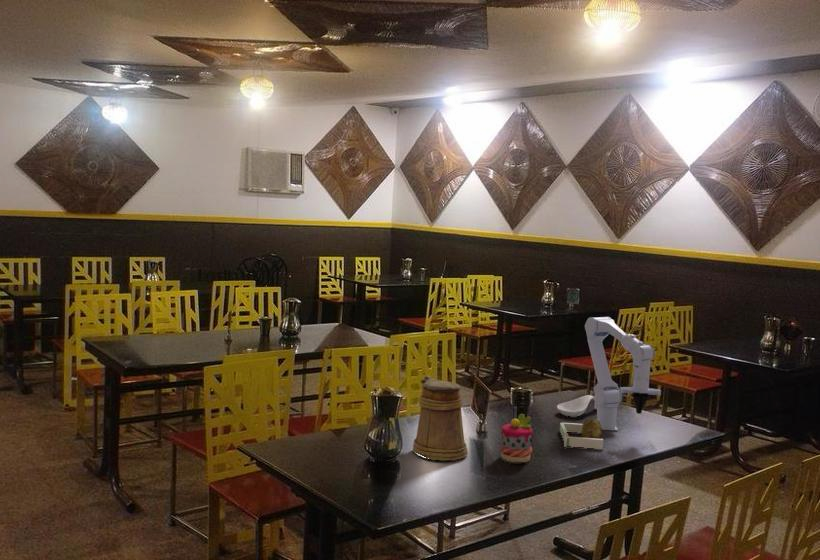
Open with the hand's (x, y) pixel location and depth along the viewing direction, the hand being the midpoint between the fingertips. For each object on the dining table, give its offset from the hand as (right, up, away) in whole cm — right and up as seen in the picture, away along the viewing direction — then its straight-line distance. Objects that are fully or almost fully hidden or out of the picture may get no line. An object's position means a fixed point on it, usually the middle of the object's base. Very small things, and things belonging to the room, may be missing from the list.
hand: (638, 412), depth 280 cm
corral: (-22, -10, -2) cm, 24 cm away
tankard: (-77, -10, -22) cm, 81 cm away
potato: (-19, -10, -4) cm, 22 cm away
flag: (-30, -11, -14) cm, 35 cm away
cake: (-50, -11, -27) cm, 58 cm away
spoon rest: (-14, -7, +36) cm, 39 cm away
